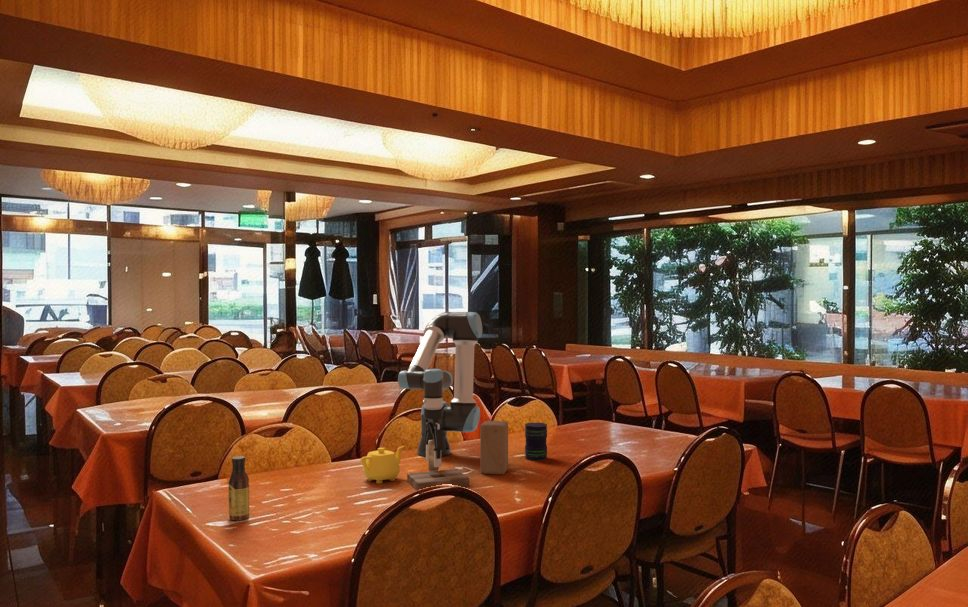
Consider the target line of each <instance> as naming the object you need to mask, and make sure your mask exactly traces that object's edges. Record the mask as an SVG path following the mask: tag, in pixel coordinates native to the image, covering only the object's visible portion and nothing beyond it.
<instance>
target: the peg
mask: <svg viewBox="0 0 968 607" xmlns="http://www.w3.org/2000/svg"><path fill="white" fill-rule="evenodd" d="M433 449H435V446H434V440H429V441H428V461H427V462H428V472H430V471H440V470H439V468H440V467H434V451H433Z"/></svg>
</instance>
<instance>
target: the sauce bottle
mask: <svg viewBox="0 0 968 607" xmlns="http://www.w3.org/2000/svg"><path fill="white" fill-rule="evenodd" d="M245 462H246V456H243V455H236V456H233V457H232V458H231V463H232V470H231V474H230V477H229V480H228V515H229V519H230V520H231V521H244V520H246V519H248V518H249V517H250V484H249V482H250V481H249V480H250V479H249V475H248V474H247V472H246V468H245V467H246V466H245V465H246V464H245Z"/></svg>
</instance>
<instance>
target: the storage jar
mask: <svg viewBox="0 0 968 607" xmlns="http://www.w3.org/2000/svg"><path fill="white" fill-rule="evenodd" d="M524 438H525V445H524V455H525V456H524V458H525V460H527V461H533V462H538V461H539V462H541V461H546V460H547V459H548V446H547V438H548V424H547V423H543V422H528V423H527V422H526V423H525V424H524Z"/></svg>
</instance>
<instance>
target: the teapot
mask: <svg viewBox="0 0 968 607" xmlns="http://www.w3.org/2000/svg"><path fill="white" fill-rule="evenodd" d="M404 447H405V445H401V446H399V447H398V448H397V450H396V451H395V452H396V453H395V452H394V451H391V450H387V449H386V447H378V448H377V450H373V451H368V453H367V455H366V456H362V457H361V458H360V463H361V466H362V472H363V475H364V476H365V478H367V481H368V482H370V481H371V482H372V481H374V480H375V481H376V482H375V483H376V484H378V485H380V484H381V485H382V484H383V482H384V480H389V481H390V482H391V481H392V482H393V481H396V478H398V476H399V474H400V462H401V452H402V449H404Z"/></svg>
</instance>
